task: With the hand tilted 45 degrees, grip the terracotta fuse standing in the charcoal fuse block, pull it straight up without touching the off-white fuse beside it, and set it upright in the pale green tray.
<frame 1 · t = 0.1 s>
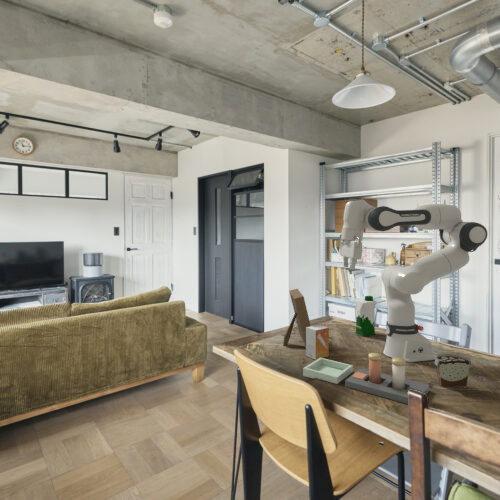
hand: (348, 268, 154), 39 cm above the table, tool pointing down, fingers open, 8 cm apart
marked fuse: (374, 385, 125), point 1 cm above the table, touching fuse block
photo frame: (296, 342, 176), on the table
small box: (317, 356, 156), on the table
milk carton: (365, 334, 187), on the table
fuse block: (386, 390, 122), on the table
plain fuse: (398, 391, 120), point 1 cm above the table, touching fuse block
food container: (448, 384, 127), on the table
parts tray: (328, 374, 136), on the table
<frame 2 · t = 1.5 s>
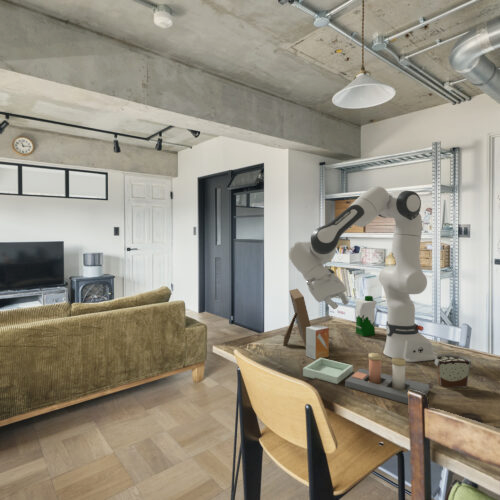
hand: (341, 305, 131), 27 cm above the table, tool tilted 45°, fingers open, 8 cm apart
nothing on the table moved.
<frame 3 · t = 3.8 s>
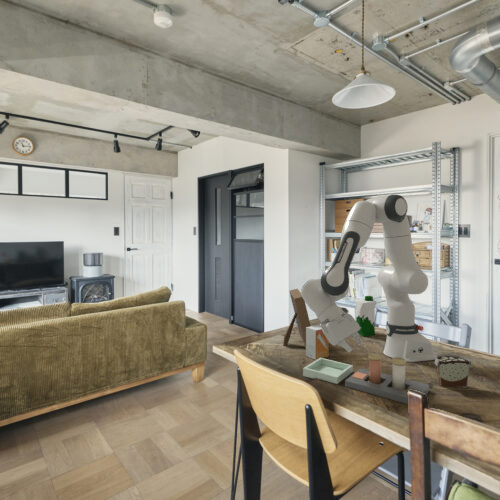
hand: (356, 347, 128), 13 cm above the table, tool tilted 45°, fingers open, 8 cm apart
nothing on the table moved.
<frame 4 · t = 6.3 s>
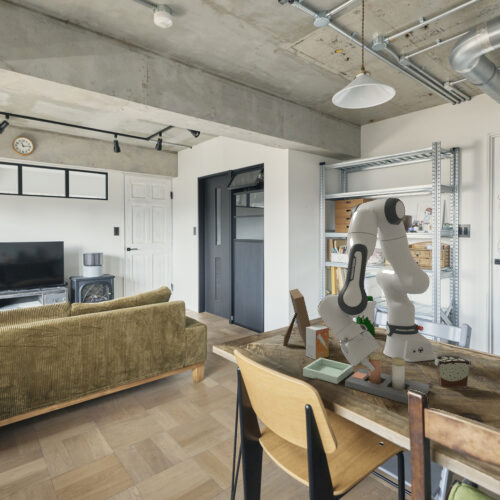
hand: (376, 367, 124), 7 cm above the table, tool tilted 45°, fingers closed on marked fuse, 4 cm apart
marked fuse: (374, 385, 125), point 1 cm above the table, touching fuse block, gripper
everything else where it was.
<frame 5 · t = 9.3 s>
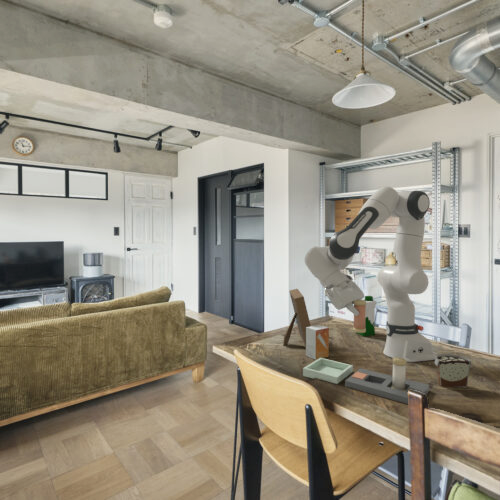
hand: (361, 313, 126), 26 cm above the table, tool tilted 45°, fingers closed on marked fuse, 4 cm apart
marked fuse: (359, 331, 127), point 19 cm above the table, touching gripper
everything else where it was.
when the fingers open (8 cm above the table, at t = 12.7 s): marked fuse drops 1 cm, resting on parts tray.
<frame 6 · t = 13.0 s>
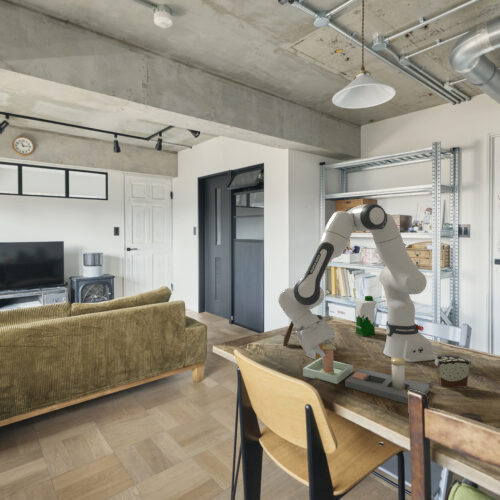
hand: (329, 353, 135), 8 cm above the table, tool tilted 45°, fingers open, 7 cm apart
marked fuse: (328, 372, 136), point 1 cm above the table, touching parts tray
everything else where it was.
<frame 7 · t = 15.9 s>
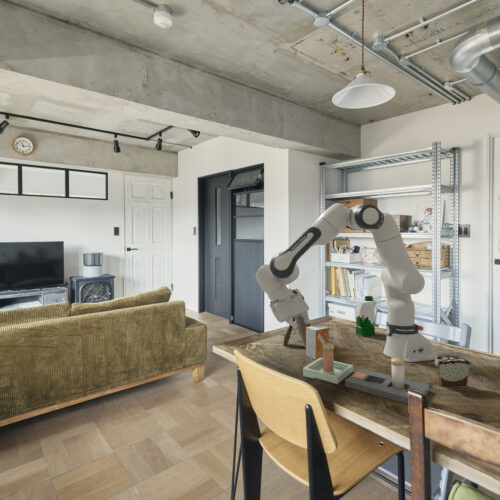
hand: (302, 325, 142), 17 cm above the table, tool tilted 45°, fingers open, 8 cm apart
nothing on the table moved.
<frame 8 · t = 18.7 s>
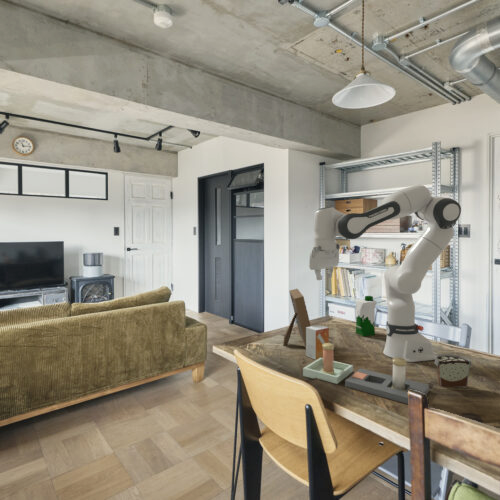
hand: (324, 278, 149), 35 cm above the table, tool pointing down, fingers open, 8 cm apart
nothing on the table moved.
at the end: marked fuse inside the target area on the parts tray (0.0 cm from its centre), point 0.6 cm above the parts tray's base; marked fuse tilted 0°; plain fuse moved 0.0 cm from its start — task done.
